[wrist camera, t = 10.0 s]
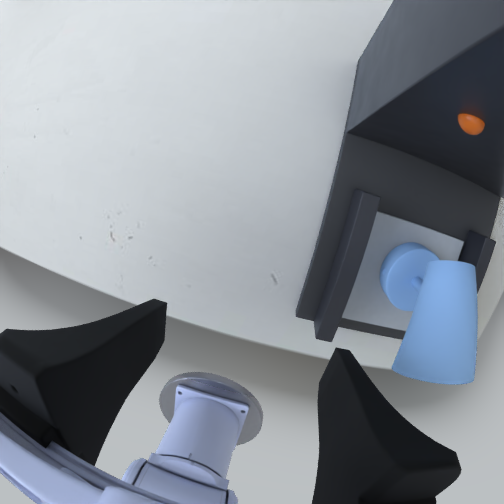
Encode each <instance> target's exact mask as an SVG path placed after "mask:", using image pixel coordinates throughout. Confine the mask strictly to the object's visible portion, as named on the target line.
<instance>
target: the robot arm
mask: <svg viewBox="0 0 504 504" xmlns="http://www.w3.org/2000/svg"><path fill="white" fill-rule="evenodd" d="M166 310H167V303H166V302H163V301H160V300H157V299H152V300H149V301H147V302H144V303H142V304H140V305H137V306H135V307H133V308H130V309H128V310H125V311H123V312H120V313H118V314H116V315H112V316H110V317H107V318H104V319H101V320H98V321H95V322H91V323H88V324H83V325H79V326H74V327H68V328H61V329H53V330H13V329H6V330H4V331H3V332H2V333H0V473H1V474H2V475H3V476H4V477H5V478H7V479H8V480H9V481H10V482H11V483H12V484H13V485H14V486H16V487H17V488H18V489H19V490H20V491H21V492H23V493H24V494H25V495H26V496H28V497H29V498H30V499H31V500H33V501H34V502H35V503H37V504H238V499H237V497H236V495H235V493H234V491H232V490H228V489H227V487H228V483H229V480H227V479H226V475H227V471H228V468H229V464H230V460H231V456H232V452H233V450H234V449H235V447H236V444H237V441H238V438H239V436H240V433H241V430H242V427H243V425H244V422H245V419H246V416H247V413H248V410H249V405H247V404H244V403H241V402H237V401H233V400H229V399H225V398H222V397H218V396H215V395H211V394H208V393H205V392H202V391H198V390H195V389H192V388H189V387H186V386H183V385H178V386H177V388H176V396H175V409H174V416H173V418H172V420H171V422H170V424H169V426H168V428H167V430H166V432H165V434H164V436H163V439H162V441H161V442H160V444H159V447H158V449H157V451H156V453H151V455H150V457H149V460H148V461H147V460H146V459H144V458H140V459H138V460H135V461H133V462H132V463H131V464H130V466H129V467H128V468H127V470H126V472H125V474H124V476H123V478H122V480H120V479H118V478H116V477H114V476H112V475H109V474H107V473H106V472H104V471H102V470H100V469H98V468H96V467H94V466H95V463H96V461H97V458H98V456H99V453H100V451H101V448H102V446H103V444H104V442H105V439H106V437H107V435H108V432H109V430H110V428H111V426H112V424H113V422H114V420H115V418H116V416H117V414H118V413H119V411H120V409H121V407H122V405H123V403H124V402H125V399H126V398H127V397H128V395H129V393H130V392H131V391H132V389H133V388H134V386H135V385H136V384H137V382H138V381H139V380H140V378H141V377H142V376H143V374H144V373H145V372H146V370H147V369H148V367H149V366H150V365H151V363H152V362H153V361H154V359H155V357H156V355H157V354H158V352H159V350H160V348H161V346H162V344H163V342H164V338H165V324H166ZM181 392H182V393H181ZM243 410H244V411H243ZM318 424H319V460H318V470H317V477H316V484H315V490H314V495H313V500H312V504H436V498H435V496H436V495H438V494H439V493H441V492H442V491H443V490H444V489H446V488H447V487H448V486H450V485H451V484H452V483H453V482H454V481H455V480H456V479H457V478H458V477H459V475H460V473H461V467H460V463H459V460H458V457H457V454H456V452H454V451H453V450H451V449H449V448H447V447H445V446H443V445H441V444H439V443H437V442H435V441H434V440H433V439H431V438H430V437H428V436H427V435H425V434H424V433H422V432H421V431H420V430H418V429H417V428H416V427H414V426H413V425H412V424H411V423H410V422H408V421H407V420H406V419H405V418H404V417H403V416H401V415H400V414H399V413H398V411H396V410H395V409H394V408H393V406H392V405H391V404H390V403H389V402H388V401H387V400H386V399H385V398H384V396H383V395H382V394H381V393H380V392H379V390H378V389H377V388H376V386H375V385H374V384H373V383H372V381H371V380H370V378H369V377H368V376H367V374H366V373H365V371H364V370H363V369H362V367H361V366H360V364H359V363H358V361H357V360H356V359H355V357H354V356H353V354H352V353H351V352H350V350H346V349H341V348H335V351H334V353H333V355H332V357H331V359H330V361H329V363H328V365H327V367H326V370H325V372H324V374H323V376H322V378H321V380H320V382H319V391H318Z"/></svg>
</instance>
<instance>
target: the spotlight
mask: <svg viewBox="0 0 504 504" xmlns="http://www.w3.org/2000/svg"><path fill="white" fill-rule="evenodd" d="M380 284H381V287H382V289H383V291H384V293H385V294H386V296H387V297H388V299H389V301H390V302H391V303H392V304H393V305H394V306H395V307H396V308H398V309H400V310H403V311H413V313H412V316H411V319H410V322H409V325H408V328H407V330H406V333H405V336H404V338H403V341H402V343H401V346H400V349H399V351H398V353H397V356H396V358H395V361H394V363H393V365H392V369H393V370H394V371H395V372H397V373H399V374H401V375H404V376H406V377H409V378H413V379H417V380H421V381H426V382H431V383H439V384H467V383H471V382H473V381H474V375H475V365H476V351H477V322H478V313H477V284H476V270H475V266H474V265H472V264H469V263H465V262H460V261H450V260H440V259H439V258H438V257H437V256H436V255H435V254H434V253H433V252H432V251H430V250H429V249H427V248H426V247H425V246H423V245H421V244H419V243H415V242H408V243H403V244H401V245H399V246H397V247H395V248H394V249H393V250H391V251H390V252H389V254H388V255H387V256H386V257H385V259H384V261H383V263H382V266H381V269H380Z"/></svg>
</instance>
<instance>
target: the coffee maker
mask: <svg viewBox="0 0 504 504" xmlns="http://www.w3.org/2000/svg"><path fill="white" fill-rule="evenodd" d="M500 197H502V198H504V0H394V1H393V3H392V4H391V6H390V8H389V9H388V11H387V13H386V15H385V16H384V18H383V20H382V21H381V23H380V25H379V26H378V28H377V30H376V32H375V33H374V35H373V37H372V38H371V40H370V42H369V43H368V45H367V47H366V49H365V50H364V52H363V54H362V55H361V57H360V59H359V60H358V65H357V70H356V76H355V81H354V87H353V92H352V97H351V102H350V107H349V112H348V117H347V122H346V126H345V131H344V136H343V140H342V145H341V149H340V153H339V158H338V162H337V166H336V170H335V174H334V179H333V183H332V187H331V191H330V194H329V198H328V202H327V206H326V210H325V214H324V217H323V221H322V225H321V228H320V232H319V236H318V239H317V243H316V246H315V250H314V253H313V257H312V260H311V263H310V267H309V270H308V273H307V277H306V280H305V283H304V286H303V290H302V293H301V296H300V299H299V302H298V306H297V309H296V317H299V318H303V319H307V320H311V321H314V327H315V337H316V339H319V340H324V341H328V342H332V340H333V338H334V335H335V333H336V331H337V328H338V327H343V328H347V329H352V330H357V331H361V332H366V333H371V334H376V335H381V336H386V337H392V338H397V339H402V340H403V338H404V336H405V333H406V330H407V328H408V325H409V322H410V319H411V316H412V313H413V311H403V310H400V309H398V308H396V307H395V306H394V305H393V304H392V303H391V302H390V301H389V299H388V297H387V296H386V294H385V293H384V291H383V289H382V287H381V284H380V269H381V266H382V263H383V261H384V259H385V257H386V256H387V255H388V254H389V252H390V251H391V250H393V249H394V248H395V247H397V246H399V245H401V244H403V243H408V242H415V243H419V244H421V245H423V246H425V247H426V248H427V249H429V250H430V251H432V252H433V253H434V254H435V255H436V256H437V257H438V258H439V259H440V260H450V261H460V262H465V263H469V264H472V265H474V266H475V270H476V284H477V293H478V291H479V288H480V286H481V283H482V281H483V278H484V276H485V273H486V270H487V267H488V265H489V262H490V259H491V256H492V253H493V250H494V246H495V243H496V241H494V240H492V239H490V236H491V232H492V229H493V225H494V222H495V218H496V214H497V210H498V206H499V201H500Z"/></svg>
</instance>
